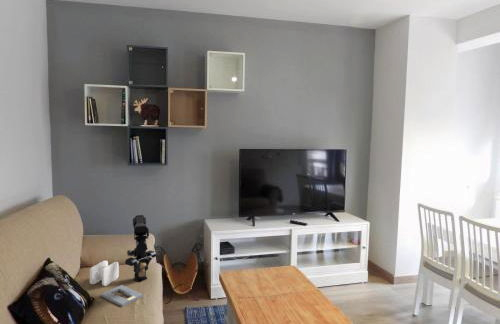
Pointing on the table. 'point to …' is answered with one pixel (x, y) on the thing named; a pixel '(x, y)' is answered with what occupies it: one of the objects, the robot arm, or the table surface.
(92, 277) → the cable organizer
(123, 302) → the keyhole board
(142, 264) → the peg
